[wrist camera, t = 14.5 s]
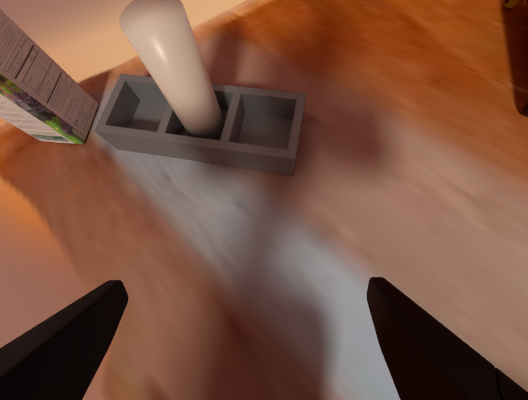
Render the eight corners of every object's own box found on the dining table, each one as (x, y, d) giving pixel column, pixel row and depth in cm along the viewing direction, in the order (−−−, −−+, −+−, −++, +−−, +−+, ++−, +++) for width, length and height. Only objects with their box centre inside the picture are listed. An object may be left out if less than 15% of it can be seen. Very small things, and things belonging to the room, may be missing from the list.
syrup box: (39, 142, 28) (-197, 10, 14) (58, 100, 30) (-136, -54, 16) (85, 145, 27) (-116, 10, 13) (101, 102, 29) (-62, -56, 15)
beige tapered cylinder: (185, 143, 26) (109, 36, 14) (195, 112, 27) (133, -9, 15) (221, 148, 25) (172, 42, 14) (230, 116, 26) (191, -6, 15)
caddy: (117, 149, 27) (94, 130, 23) (139, 97, 29) (121, 73, 26) (293, 175, 24) (295, 159, 21) (303, 116, 26) (306, 93, 23)
